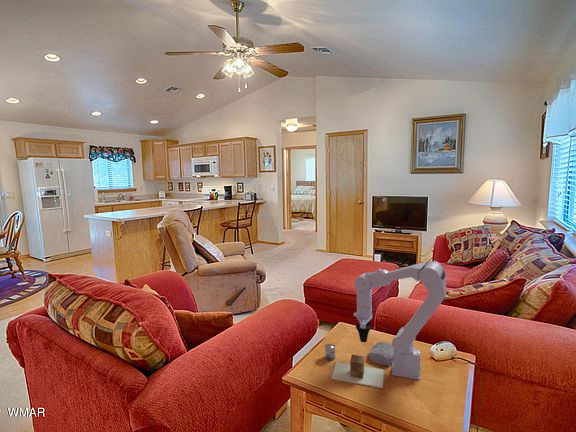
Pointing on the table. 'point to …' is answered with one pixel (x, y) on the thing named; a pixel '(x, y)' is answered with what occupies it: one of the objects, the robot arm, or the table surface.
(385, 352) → the stone block
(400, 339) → the robot arm
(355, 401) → the table surface
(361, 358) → the walnut block
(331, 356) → the steel cylinder
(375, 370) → the sage mat
